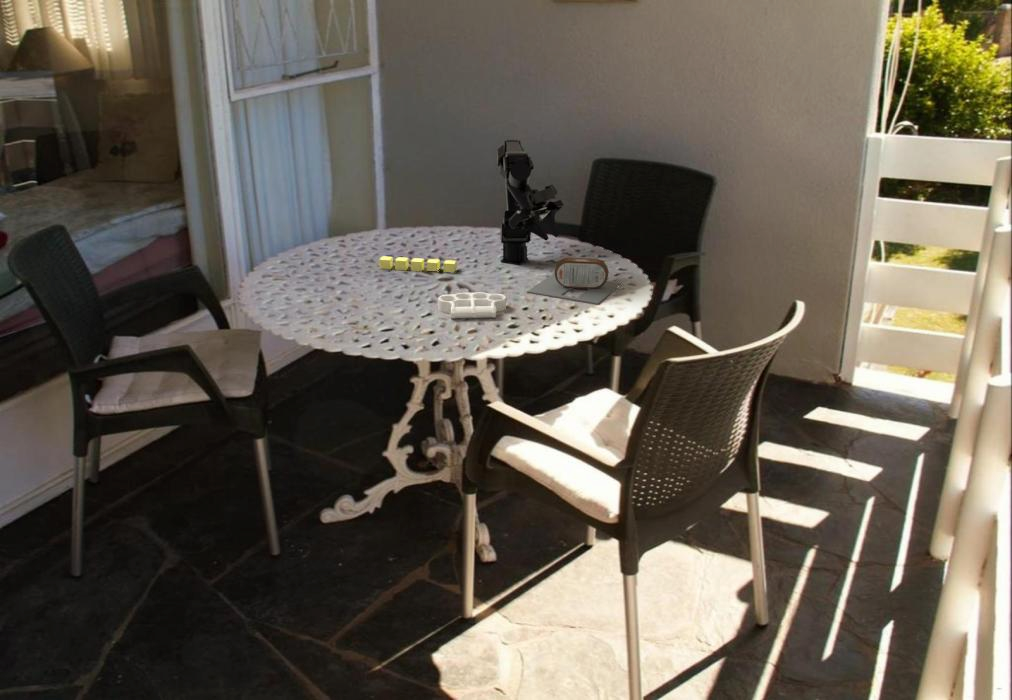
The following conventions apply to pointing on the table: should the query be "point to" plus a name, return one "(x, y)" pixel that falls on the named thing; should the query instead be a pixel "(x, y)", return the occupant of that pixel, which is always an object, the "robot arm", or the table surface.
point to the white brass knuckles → (472, 304)
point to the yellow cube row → (416, 264)
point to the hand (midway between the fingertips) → (552, 238)
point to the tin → (581, 273)
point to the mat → (556, 290)
